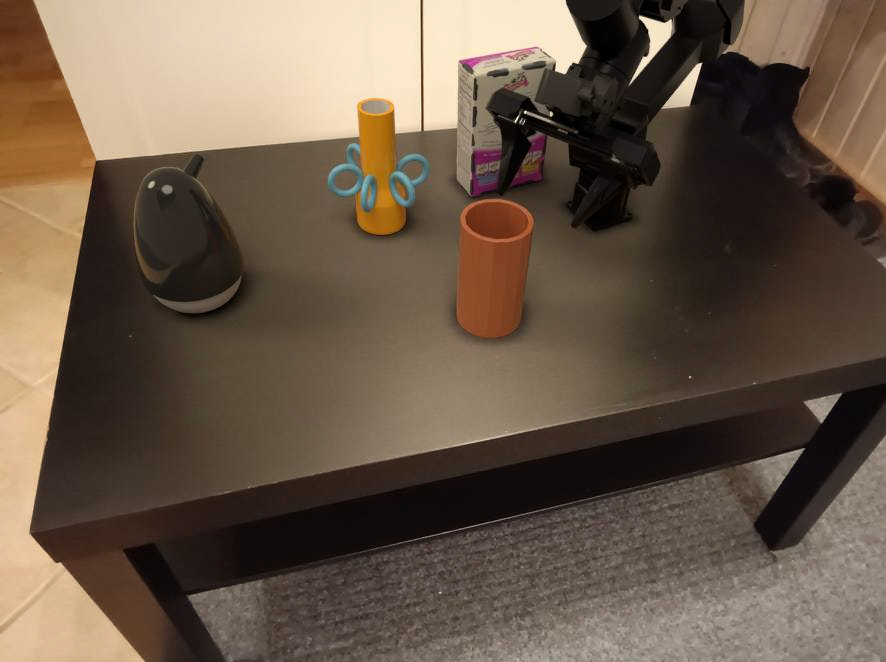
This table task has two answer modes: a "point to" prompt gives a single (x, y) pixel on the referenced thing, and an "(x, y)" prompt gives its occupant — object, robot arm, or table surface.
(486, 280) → the pot
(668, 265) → the table surface
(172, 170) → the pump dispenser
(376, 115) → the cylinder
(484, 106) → the candy bar box
